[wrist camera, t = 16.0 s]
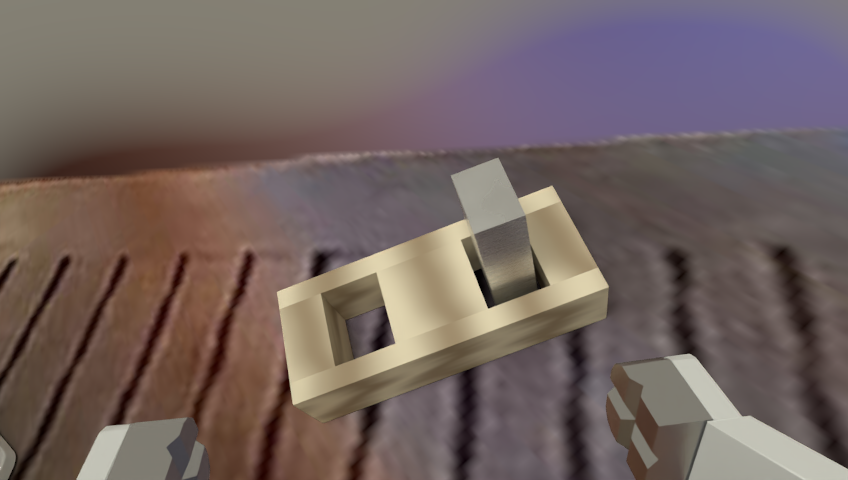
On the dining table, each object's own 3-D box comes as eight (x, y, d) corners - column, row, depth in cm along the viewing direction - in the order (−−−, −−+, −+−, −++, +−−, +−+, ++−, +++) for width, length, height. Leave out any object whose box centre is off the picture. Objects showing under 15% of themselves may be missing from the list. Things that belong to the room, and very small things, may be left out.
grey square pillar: (503, 325, 41) (474, 234, 30) (483, 275, 43) (450, 175, 33) (541, 311, 41) (525, 215, 30) (519, 262, 43) (498, 157, 32)
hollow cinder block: (322, 423, 40) (292, 405, 36) (304, 318, 45) (277, 291, 41) (606, 318, 39) (608, 287, 35) (555, 222, 44) (552, 185, 40)
